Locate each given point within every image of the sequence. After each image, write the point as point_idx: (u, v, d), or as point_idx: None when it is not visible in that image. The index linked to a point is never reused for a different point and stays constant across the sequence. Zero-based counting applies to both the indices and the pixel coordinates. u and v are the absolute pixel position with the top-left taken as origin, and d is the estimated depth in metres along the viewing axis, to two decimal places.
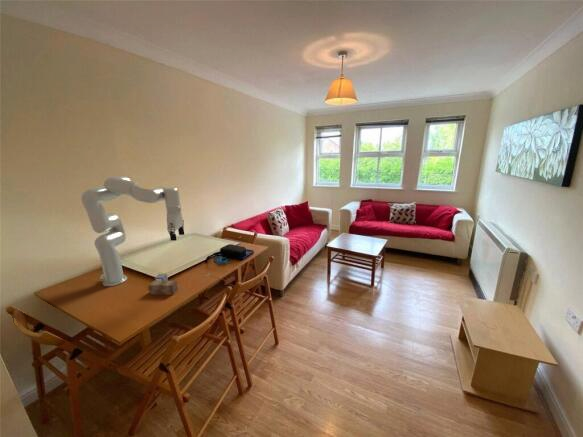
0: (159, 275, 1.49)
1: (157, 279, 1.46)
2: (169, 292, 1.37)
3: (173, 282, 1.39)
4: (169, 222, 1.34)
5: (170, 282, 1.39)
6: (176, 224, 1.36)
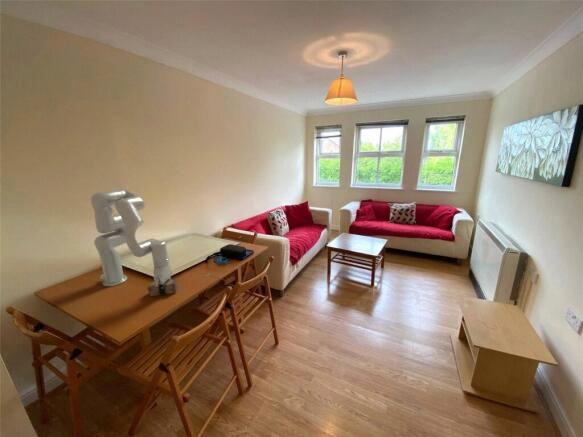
0: None
1: None
2: (171, 291, 1.38)
3: (173, 281, 1.40)
4: (156, 277, 1.32)
5: (170, 281, 1.40)
6: (163, 278, 1.34)
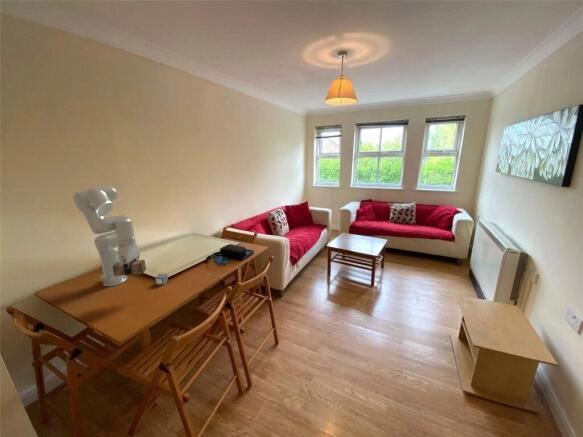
0: (159, 275, 1.49)
1: (157, 279, 1.46)
2: (138, 272, 1.31)
3: (141, 261, 1.33)
4: (121, 256, 1.25)
5: (137, 261, 1.33)
6: (129, 257, 1.27)
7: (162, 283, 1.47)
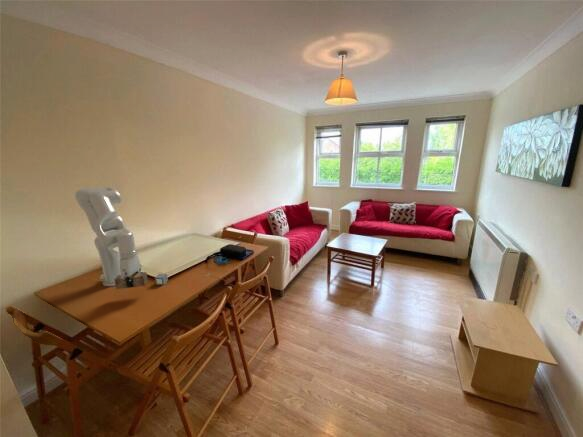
0: (159, 275, 1.49)
1: (157, 279, 1.46)
2: (139, 284, 1.33)
3: (142, 273, 1.35)
4: (122, 269, 1.27)
5: (139, 273, 1.35)
6: (130, 270, 1.28)
7: (162, 283, 1.47)
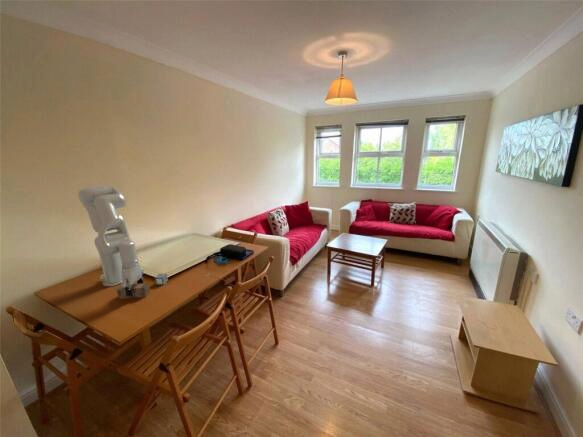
0: (159, 275, 1.49)
1: (157, 279, 1.46)
2: (141, 295, 1.34)
3: (144, 284, 1.36)
4: (124, 278, 1.28)
5: (141, 284, 1.37)
6: (132, 279, 1.30)
7: (162, 283, 1.47)
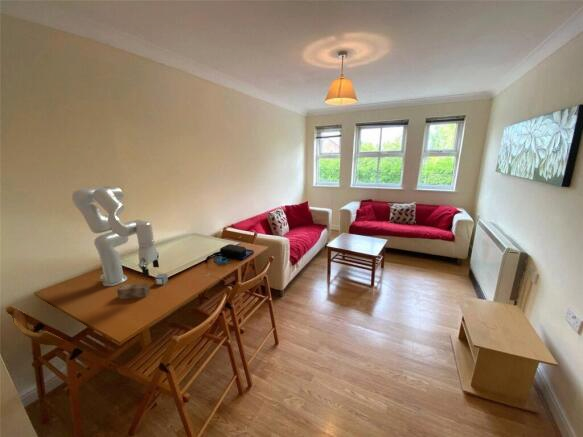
0: (159, 275, 1.49)
1: (157, 279, 1.46)
2: (141, 295, 1.34)
3: (144, 284, 1.37)
4: (141, 257, 1.31)
5: (141, 284, 1.37)
6: (148, 259, 1.33)
7: (162, 283, 1.47)
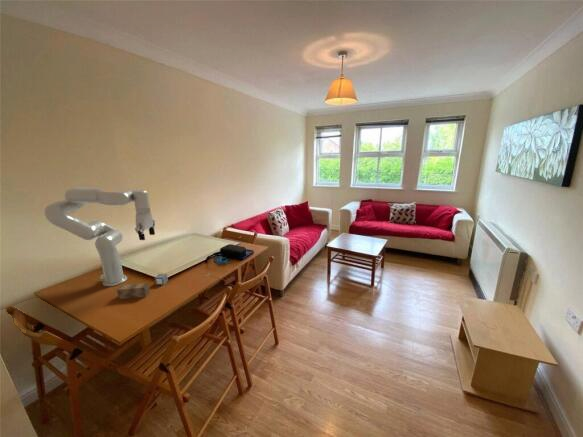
0: (159, 275, 1.49)
1: (157, 279, 1.46)
2: (141, 295, 1.34)
3: (144, 284, 1.37)
4: (138, 222, 1.41)
5: (141, 284, 1.37)
6: (145, 224, 1.43)
7: (162, 283, 1.47)
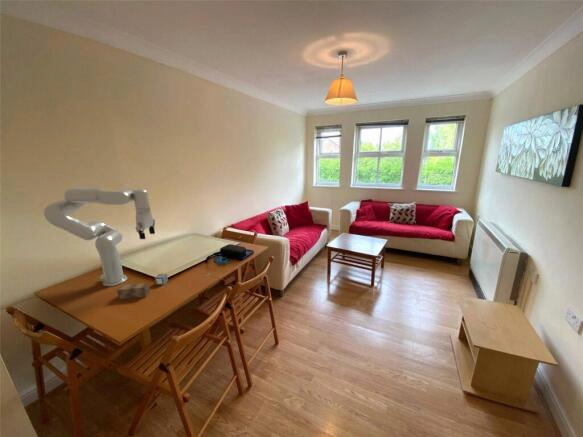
0: (159, 275, 1.49)
1: (157, 279, 1.46)
2: (141, 295, 1.34)
3: (144, 284, 1.37)
4: (138, 222, 1.42)
5: (141, 284, 1.37)
6: (145, 224, 1.44)
7: (162, 283, 1.47)
